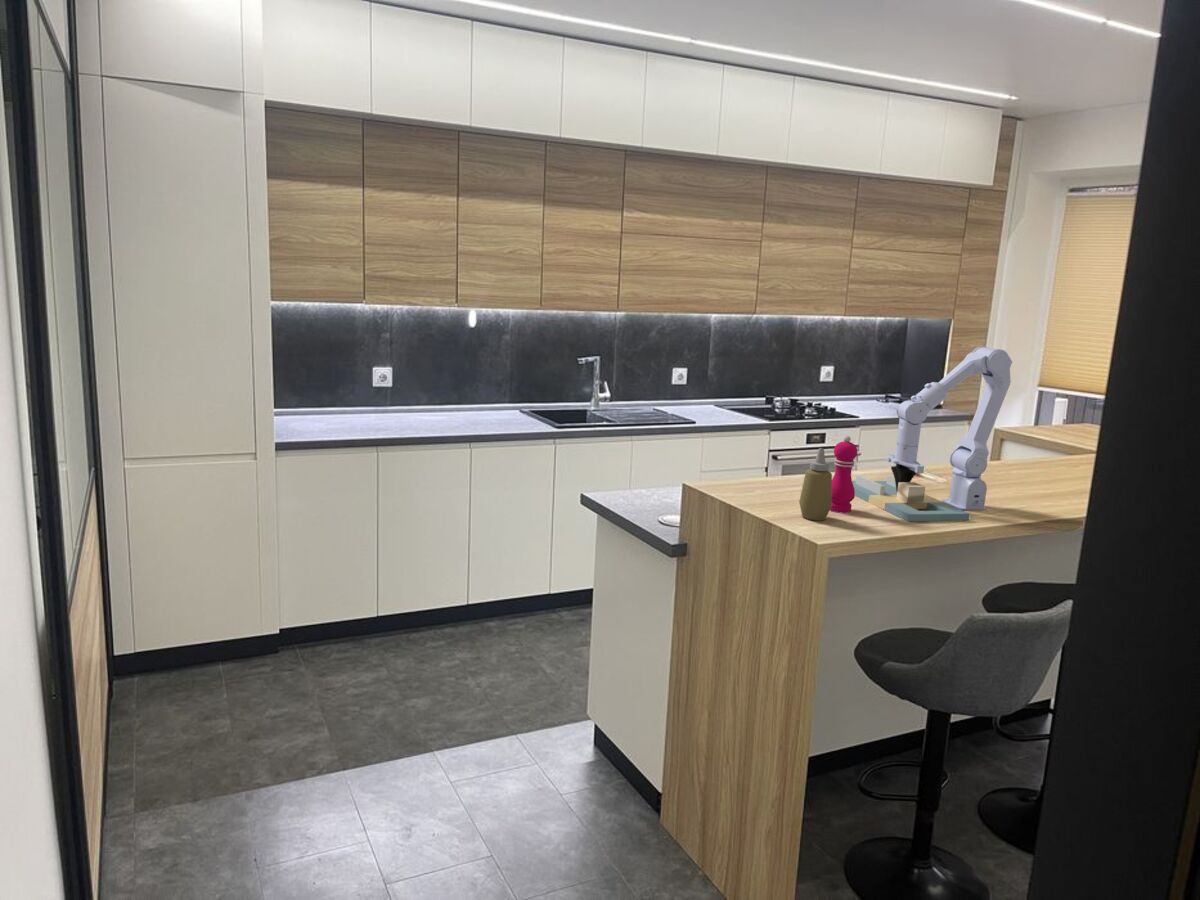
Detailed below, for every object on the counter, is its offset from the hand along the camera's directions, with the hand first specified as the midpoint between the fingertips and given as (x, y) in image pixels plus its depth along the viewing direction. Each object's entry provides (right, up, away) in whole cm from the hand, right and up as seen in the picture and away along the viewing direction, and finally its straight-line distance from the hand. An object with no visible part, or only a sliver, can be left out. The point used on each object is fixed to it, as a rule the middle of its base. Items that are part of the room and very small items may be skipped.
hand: (901, 492), depth 241 cm
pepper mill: (-20, -4, -10) cm, 23 cm away
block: (+1, -2, -4) cm, 5 cm away
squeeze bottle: (-29, -6, -20) cm, 36 cm away
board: (0, -3, 0) cm, 3 cm away
